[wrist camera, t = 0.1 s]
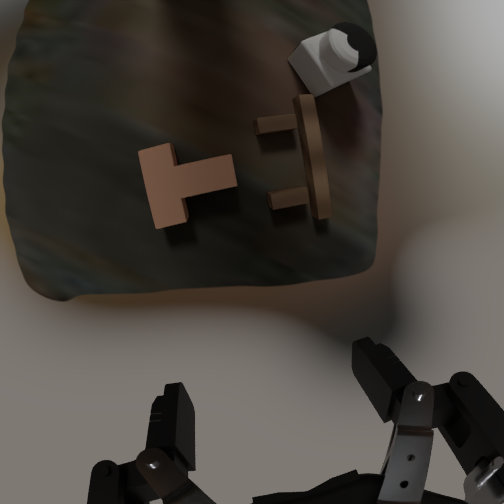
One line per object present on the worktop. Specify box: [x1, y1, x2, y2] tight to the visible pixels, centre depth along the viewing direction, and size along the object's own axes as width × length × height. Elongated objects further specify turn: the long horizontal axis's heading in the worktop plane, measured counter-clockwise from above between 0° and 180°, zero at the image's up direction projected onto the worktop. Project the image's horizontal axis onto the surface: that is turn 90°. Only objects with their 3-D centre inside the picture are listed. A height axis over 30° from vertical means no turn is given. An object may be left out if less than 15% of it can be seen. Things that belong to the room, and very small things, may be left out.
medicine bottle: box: [288, 22, 377, 97], centre depth 28 cm, size 7×7×12 cm
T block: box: [138, 143, 237, 229], centre depth 35 cm, size 10×11×4 cm
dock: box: [253, 94, 332, 219], centre depth 36 cm, size 17×8×3 cm, turn 10°
